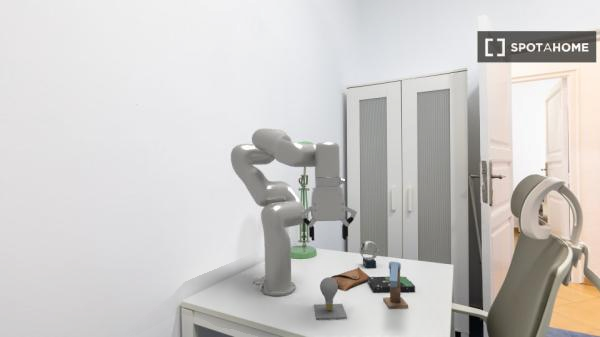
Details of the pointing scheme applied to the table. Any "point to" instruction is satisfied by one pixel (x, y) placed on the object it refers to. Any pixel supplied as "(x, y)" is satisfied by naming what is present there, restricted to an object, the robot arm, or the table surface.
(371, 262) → the watch
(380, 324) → the table surface
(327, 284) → the light bulb
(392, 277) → the latch arm
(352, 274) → the sunglasses case
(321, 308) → the mat
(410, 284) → the disk drive
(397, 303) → the post
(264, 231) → the robot arm
